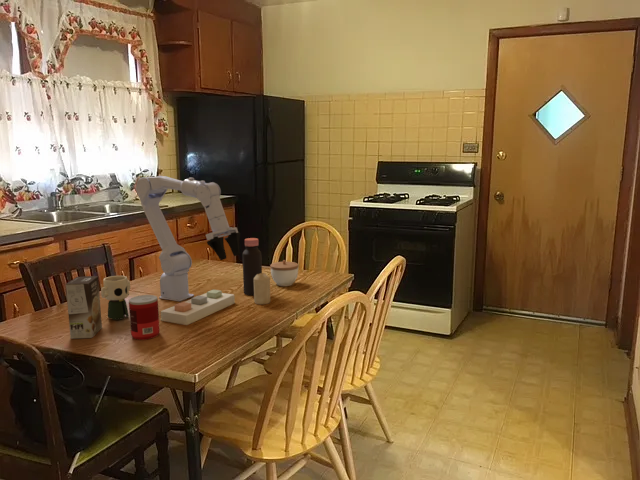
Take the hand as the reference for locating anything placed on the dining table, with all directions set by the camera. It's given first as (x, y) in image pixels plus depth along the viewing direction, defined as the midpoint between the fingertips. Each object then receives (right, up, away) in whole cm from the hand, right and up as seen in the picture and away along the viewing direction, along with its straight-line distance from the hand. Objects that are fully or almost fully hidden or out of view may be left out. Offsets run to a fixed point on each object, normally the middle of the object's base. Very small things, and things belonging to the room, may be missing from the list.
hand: (230, 257), depth 183 cm
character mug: (-34, -19, -7) cm, 40 cm away
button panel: (-10, -18, -1) cm, 20 cm away
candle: (+10, -16, +9) cm, 20 cm away
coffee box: (-39, -22, -20) cm, 49 cm away
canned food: (-21, -22, -23) cm, 38 cm away
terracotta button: (-13, -17, -8) cm, 23 cm away
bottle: (+5, -14, +20) cm, 25 cm away
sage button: (-6, -14, +6) cm, 17 cm away
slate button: (-10, -16, -1) cm, 19 cm away
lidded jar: (+16, -11, +32) cm, 37 cm away
